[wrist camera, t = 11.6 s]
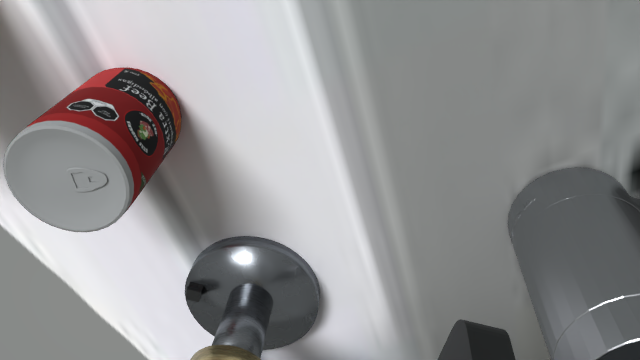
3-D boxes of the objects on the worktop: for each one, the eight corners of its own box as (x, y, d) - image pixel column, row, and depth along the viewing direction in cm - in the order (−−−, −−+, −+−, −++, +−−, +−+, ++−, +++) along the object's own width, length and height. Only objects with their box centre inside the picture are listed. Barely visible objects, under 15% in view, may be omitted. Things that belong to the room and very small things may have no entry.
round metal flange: (333, 254, 49) (323, 335, 41) (304, 349, 55) (291, 436, 47) (197, 222, 49) (159, 297, 40) (183, 321, 55) (148, 404, 46)
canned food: (202, 136, 44) (153, 213, 35) (119, 167, 47) (51, 248, 37) (151, 47, 41) (82, 105, 32) (64, 85, 43) (-25, 150, 34)
